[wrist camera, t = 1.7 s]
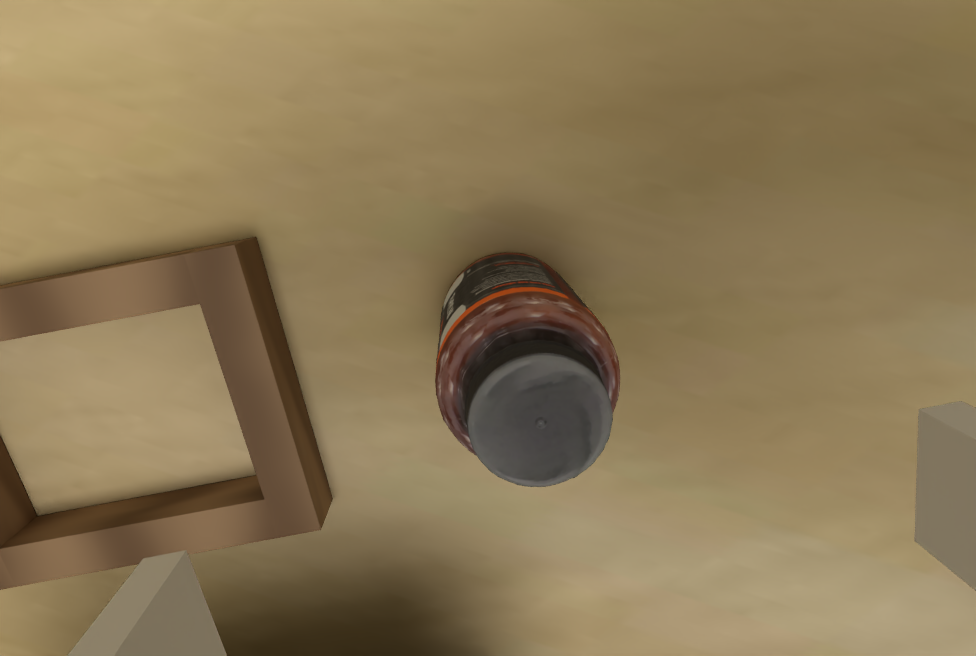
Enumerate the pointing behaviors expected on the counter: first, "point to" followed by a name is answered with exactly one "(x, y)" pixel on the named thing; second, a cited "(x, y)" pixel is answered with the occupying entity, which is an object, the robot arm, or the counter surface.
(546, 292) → the supplement bottle
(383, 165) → the counter surface
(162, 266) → the wooden frame
